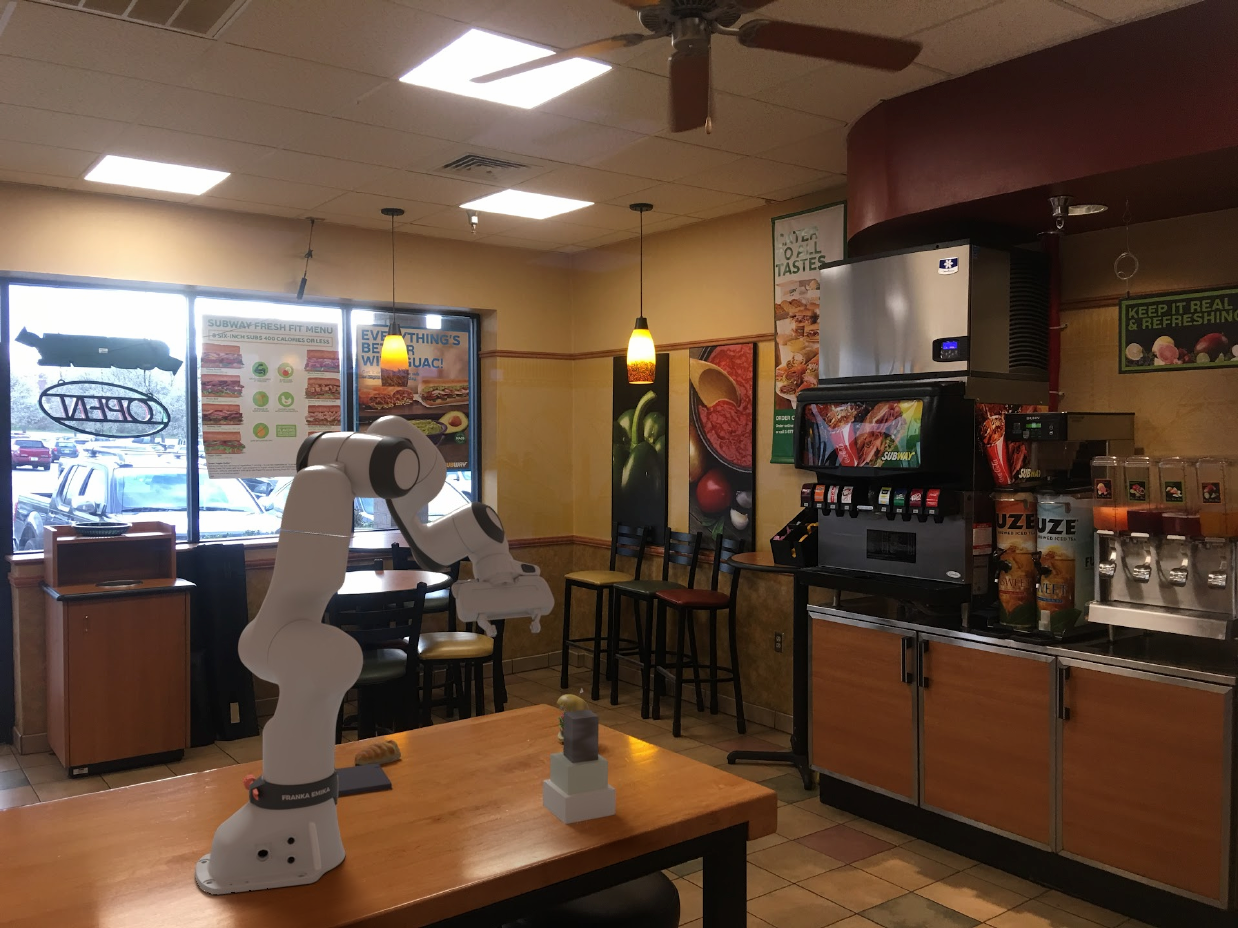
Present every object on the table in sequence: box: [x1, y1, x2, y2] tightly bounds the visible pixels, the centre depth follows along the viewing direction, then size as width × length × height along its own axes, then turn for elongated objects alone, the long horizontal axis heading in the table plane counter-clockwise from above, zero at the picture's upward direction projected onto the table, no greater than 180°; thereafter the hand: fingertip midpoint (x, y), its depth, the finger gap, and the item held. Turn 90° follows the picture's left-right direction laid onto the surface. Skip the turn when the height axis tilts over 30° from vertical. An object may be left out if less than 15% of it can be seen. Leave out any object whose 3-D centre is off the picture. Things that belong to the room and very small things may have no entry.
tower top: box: [549, 751, 609, 795], centre depth 180 cm, size 8×8×5 cm
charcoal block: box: [562, 708, 600, 763], centre depth 180 cm, size 5×5×8 cm
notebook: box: [335, 764, 393, 797], centre depth 191 cm, size 13×2×21 cm
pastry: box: [353, 739, 402, 766], centre depth 206 cm, size 9×7×4 cm
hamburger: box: [556, 687, 590, 744], centre depth 220 cm, size 8×7×12 cm
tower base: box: [542, 778, 616, 825], centre depth 180 cm, size 10×10×5 cm
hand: (514, 633), depth 195 cm, fingers open, 8 cm apart
